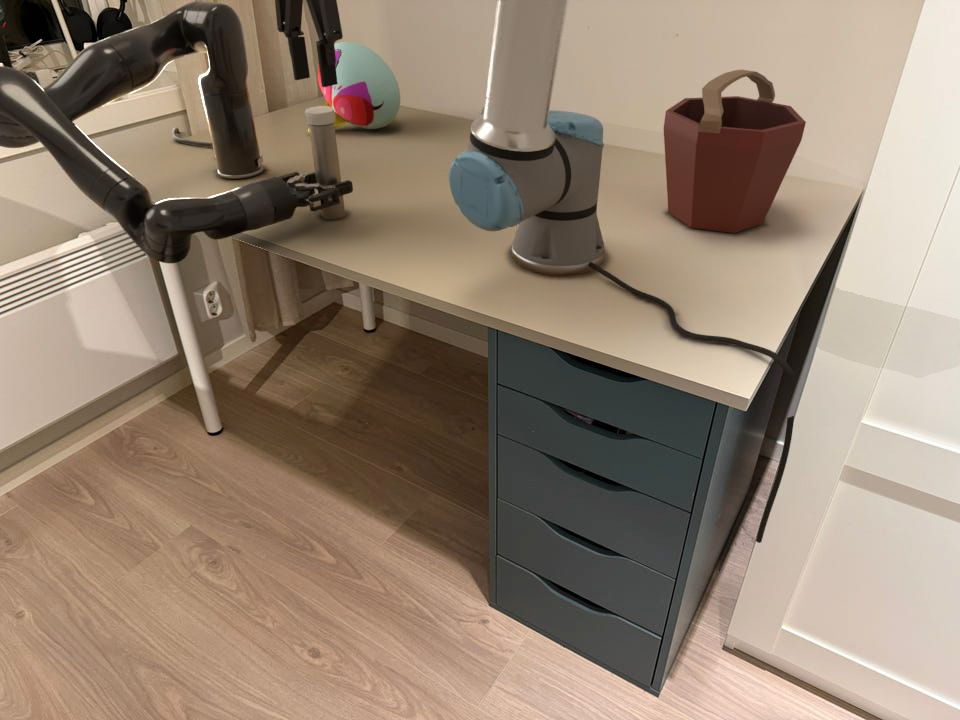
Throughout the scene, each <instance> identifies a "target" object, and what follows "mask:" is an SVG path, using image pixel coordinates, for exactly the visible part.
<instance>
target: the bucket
mask: <svg viewBox="0 0 960 720" xmlns="http://www.w3.org/2000/svg"><path fill="white" fill-rule="evenodd" d="M746 77H747V78H748V79H749V80H750V81H751V82H752V83H754V84H755V85H756V88H757V91H758V98H757V99H754V98H750V97H744V96H739V95H736V96H733V95H732V96H731V95H730V96H722V92H724V91H725V90H726V89H727V88H728V87H729V86H730V85H732V84H734V83H735V82H737V81H738V80H740V79H743V78H746ZM701 96H702V97H685V98H683V99H682V100H680V101H679V102H677V103H676V104H674V105H672V106H670V107H669V108H668V109H667V110H665V115H664V122H663V143H664V156H665V157H664V159H665V161H664V162H665V177H666V179H665V180H666V192H667V193H666V194H667V196H666V197H667V212H668V214H670V215H671V216H672V217H674V218H676V219H677V220H679V221H680V222H681V223H683V224H684V225H686V226H687V227H689V228H691V229H698V230H707V231H715V232H721V233H732V234H735V233H739V232H742V231H745V230H749V229H751V228H754V227H757V226H760V225H762V224H764V222H765V219H766V218H767V215H768V213H769V211H770V209H771V207H772V205H773V202H774V201H775V198H776V196H777V195H778V192H779V189H780V187H781V185H782V183H783V181H784V179H785V177H786V175H787V173H788V170H789V168H790V167H791V164H792V162H793V159H794V158H795V155H796V153H797V151H798V150H799V149H798V148H799V147H800V145H801V142H802V139H803V135H804V132H805V128H806V125H807V124H806V120H805V119H804V118H803V117H802V116H801V115H800V114H799V113H798V112H797V111H796V110H795V109H794V108H793V107H792V106H791V105H787V104H781V103H776V102H774V101H775V98H776V92H775V88H774V83H773V82H772V81H771V80H769V79H768V78H767V77H766V76H765V75H763V74H761V73H760V72H758V71H755V70H748V69H735V70H732V71H727V72H724V73H722V74H720V75H717V76H716V77H714V78H713V79H711V80H709V81H708V82H707V83H706V84H705V85H704V86H703V87H702V88H701Z"/></svg>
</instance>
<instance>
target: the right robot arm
mask: <svg viewBox="0 0 960 720" xmlns="http://www.w3.org/2000/svg"><path fill="white" fill-rule="evenodd" d="M305 1H306V4H307V6H308V7H307V8H308V10H309V13H310V16H311V19H312V23H313V25H314V28H315V32H316V35H317V38H318V40H317V41H315V43H316V52H317V59H318V60H317V61H318V64H319V68H320V76H321V84H322V87H328V86H332V85H336V84H338V83H337V75H336V66H335V64H336V58H335V57H336V56H335V47H334V44H336V42H337V41H339V40H342V39H343V37H344V35H343V29H342V24H341V18H340V12H339V7H338V1H337V0H305ZM303 3H304V0H274V7H275V16H276V17H275V18H276V26H277V31H278V32H279V33H283V34H284V36H285V37H286V38H287V43H288V44H287V45H288V50H289V55H290V58H291V66H292V71H293V79H294V81H301V80H306V79H309V78H311V74H310V68H309V59H308V53H307V46H306V39H305V36H304V35H305V32H304V31H303V30H302V21H303V20H302V19H303ZM495 4H496V5H495V13H494V20H493V30H492V37H491V47H490V54H489V55H490V56H489V64H488V73H487V74H488V75H487V83H486V91H485V100H484V105H485V107H484V106H483V107H484V113H483V114H482V115H481V114H480V115H479V116H478V117H477V118H475V119H473V121H472V123H471V126H470V133H469V142H468V149H467V150H464V151H462V152H461V153H460V154H459V155H458V156H457V157H456V158H454V159H453V161H452V163H451V165H450V167H449V173H448V182H449V190H450V193H451V196H452V199H453V201H454V203H455V204H456V206H457V207H458V208H459V211H460V212H461V213H462V215H463V216H464V217H465V219H467V220H468V221H469V222H470V223H471V224H472V225H474V226H475V227H477V228H479V229H481V230H483V231H487V232H499V231H502V230H506V229H509V228H514V227H516V226H517V229H516V232H515V234H514V237H513V240H512V243H511V244H512V245H511V257H512V259H513V261H514V262H515V263H516V264H517V265H519V267H521V268H524V269H526V270H528V271H530V272H532V273H533V272H534V273H537V274H541V275H547V276H558V277H559V276H560V277H561V276H573V275H574V276H575V275H580V274H584V273H588V272H590V271H593V270H594V271H596V272H597V273H598V274H600V275H602V276H604V277H605V278H607V279H609V280H610V281H612V282H613V283H615V284H616V285H618V286H619V287H620V288H622V289H624V290H625V291H627V292H629V293H631V294H632V295H635V296H637V297H639V298H642V299H645V300H648V301H650V302H652V303H656V304H657V305H659V306H661V307H662V308H663V309H664V310H665V311H666V312H667V313H668V316H669V321H670V324H671V326H672V328H673V330H674V331H676V332H677V333H678V334H680V335H682V336H684V337H686V338H689V339H693V340H697V341H703V342H711V343H722V344H729V345H733V346H736V347H739V348H743V349H745V350H748V351H752V352H756V353H760V354H762V355H764V356H767V357H769V358H771V359H772V360H774V361H775V362H776V363H777V364H778V365H779V366H780V367H781V368H782V370H783V371H784V373H785V374H786V376H787V377H788V378H790V379H796V374H795V373H794V371H793V369H792V368H791V366H790V365H789V363H788V362H787V361H786V360H785V359H784V358H783V357H782V356H781V355H779V354H778V353H776V351H775V352H774V351H773V350H771V349H769V348H765V347H763V346H760V345H756V344H752V343H750V342H745V341H742V340H741V339H736V338H732V337H728V336H719V335H718V336H717V335H708V334H707V335H706V334H699V333H695V332H692V331H689V330H686V329H685V328H683V327H682V326H681V325H679V322H678V321H677V318H676V313H675V310H674V309H673V307H672V306H671V304H669V303H668V302H667V301H665V300H663V299H661V298H659V297H657V296H655V295H652V294H649V293H646V292H644V291H642V290H639V289H636V288H634V287H632V286H631V285H628V284H627V283H626V282H624V281H623V280H622V279H620V278H618V277H617V276H615V275H613V274H612V273H611V272H609V271H607V270H606V269H604V268H602V267H601V266H600V265H601V264H602V263H603V261H604V258H605V249H606V247H605V242H604V239H603V233H602V230H601V226H600V222H599V218H598V213H597V212H598V199H599V188H600V179H601V171H602V170H601V169H602V161H603V160H602V159H603V148H604V147H605V143H604V126H603V123H602V122H601V121H600V120H599V119H598V118H596V117H594V116H591V115H589V114H585V113H584V114H583V113H580V112H574V111H566V110H553V109H551V104H552V103H551V102H552V98H553V92H554V85H555V81H556V73H557V68H558V64H559V63H558V62H559V57H560V52H561V46H562V39H563V33H564V28H565V22H566V17H567V11H568V6H569V0H496V3H495ZM794 423H795V415H792V416H789V417H787V418H786V427H785V433H784V434H785V435H784V442H783V446H782V452H781V456H780V460H779V464H778V467H777V471H776V475H775V478H774V480H773V484H772V487H771V489H770V490H771V491H770V492H769V495H768V498H767V502H766V505H765V507H764V511H763V514H762V516H761V520H760V523H759V527H758V530H757V535H756V538H755V542H756V543H759V544H760V543H762V541H763V538H764V533H765V531H766V528H767V524H768V521H769V517H770V514H771V511H772V509H773V506H774V503H775V500H776V497H777V495H778V491H779V488H780V485H781V482H782V480H783V477H784V473H785V469H786V465H787V461H788V458H789V453H790V449H791V444H792V439H793V430H794Z"/></svg>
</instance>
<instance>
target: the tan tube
mask: <svg viewBox="0 0 960 720" xmlns="http://www.w3.org/2000/svg"><path fill="white" fill-rule="evenodd" d="M307 124H308V123H307ZM308 130H309V132H310V133H309V132H308V133H309V138H310V146H311V152H312V159H313V166H314V167H313V168H314V172H315V174H316V181H317V184H318V183H320V184H321V185H322V186H328V185H333V184H337V183H340V182H342V177H341V167H340V161H339V153H338V144H337V135H336V128H335V126H334V122H333V123H331V124H328V125H310V124H308ZM326 191H328V190H326ZM322 192H325V191H322ZM339 199H340V203H339V204H336V205H333V206H330V207H327V208H324V209H321V210H320V216H321V218H322V219H324V220H329V221H333V220H339V219H342V218H344V217H345V216H346V209H345V199H344V195H343V196H339Z"/></svg>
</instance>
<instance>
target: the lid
mask: <svg viewBox="0 0 960 720" xmlns="http://www.w3.org/2000/svg"><path fill="white" fill-rule="evenodd" d="M304 118H305V122H306V124H310V125H328V124H331V123H333V122H335V120H336V119H335V111H334V108H332V107H329V106H325V105H316V106H311V107H307V108H306V109H305V110H304Z"/></svg>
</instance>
